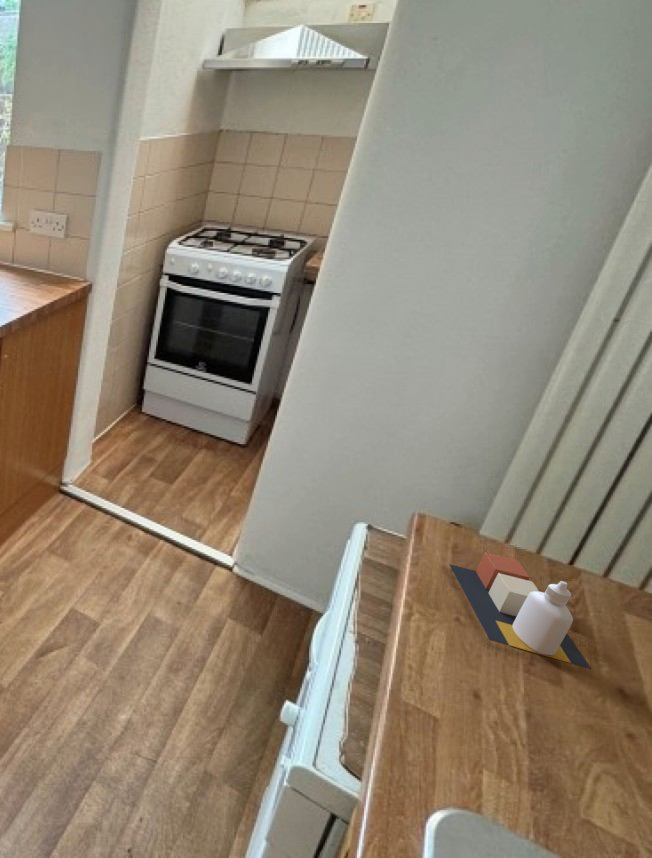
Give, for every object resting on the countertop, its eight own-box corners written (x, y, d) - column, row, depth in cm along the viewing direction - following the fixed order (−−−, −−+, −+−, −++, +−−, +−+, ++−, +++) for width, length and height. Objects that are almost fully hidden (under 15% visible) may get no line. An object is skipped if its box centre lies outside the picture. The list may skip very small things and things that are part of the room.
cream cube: (522, 601, 102) (532, 581, 100) (534, 621, 98) (545, 600, 96) (488, 592, 103) (498, 572, 102) (499, 611, 100) (509, 591, 98)
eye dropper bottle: (547, 636, 95) (580, 578, 91) (555, 661, 91) (589, 601, 86) (510, 622, 97) (540, 565, 93) (515, 646, 93) (547, 587, 89)
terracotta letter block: (507, 579, 106) (517, 559, 105) (519, 597, 102) (529, 577, 101) (475, 571, 108) (484, 551, 106) (485, 588, 104) (495, 568, 103)
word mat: (533, 588, 105) (535, 585, 105) (590, 672, 90) (592, 669, 90) (447, 566, 110) (449, 563, 110) (488, 642, 95) (490, 639, 94)
